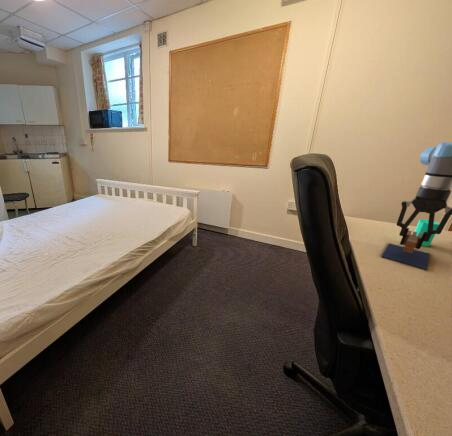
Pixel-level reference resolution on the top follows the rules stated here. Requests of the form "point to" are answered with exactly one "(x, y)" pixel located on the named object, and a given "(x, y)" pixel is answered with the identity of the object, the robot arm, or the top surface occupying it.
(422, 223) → the candle
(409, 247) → the brown rectangular bar
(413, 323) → the top surface
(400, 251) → the placemat
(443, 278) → the top surface
